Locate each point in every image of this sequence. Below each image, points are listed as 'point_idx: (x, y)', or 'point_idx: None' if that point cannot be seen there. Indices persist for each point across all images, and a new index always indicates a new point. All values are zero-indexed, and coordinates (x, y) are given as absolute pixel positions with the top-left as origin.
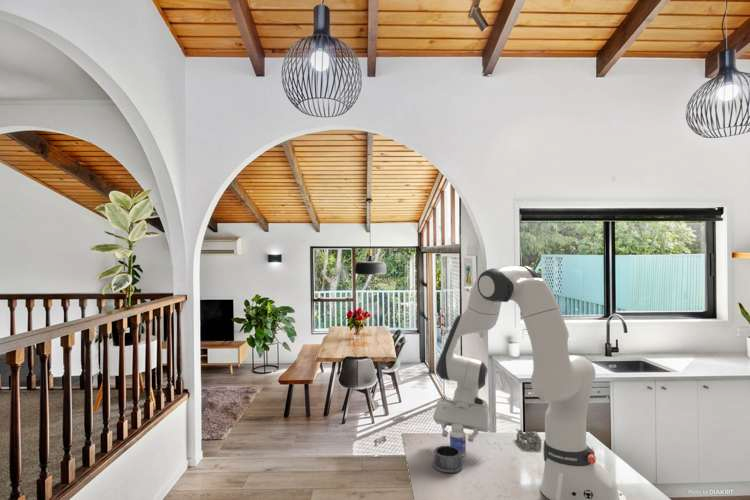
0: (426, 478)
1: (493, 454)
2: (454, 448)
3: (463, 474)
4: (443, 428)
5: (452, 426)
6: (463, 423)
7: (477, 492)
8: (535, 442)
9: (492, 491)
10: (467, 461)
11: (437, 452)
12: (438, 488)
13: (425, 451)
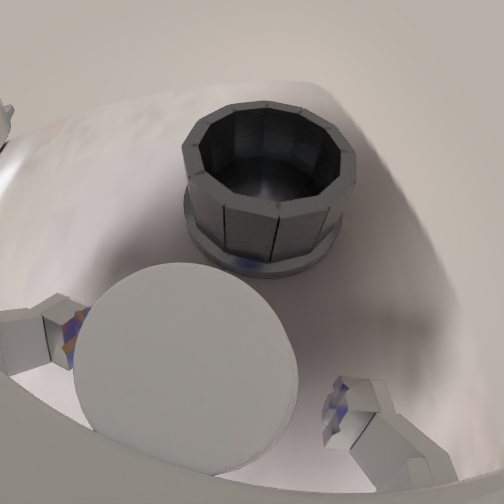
0: None
1: None
2: (227, 188)
3: None
4: (399, 425)
5: (272, 313)
6: (47, 413)
7: (157, 95)
8: None
9: (113, 108)
10: None
11: (335, 175)
12: (274, 93)
13: (418, 357)
